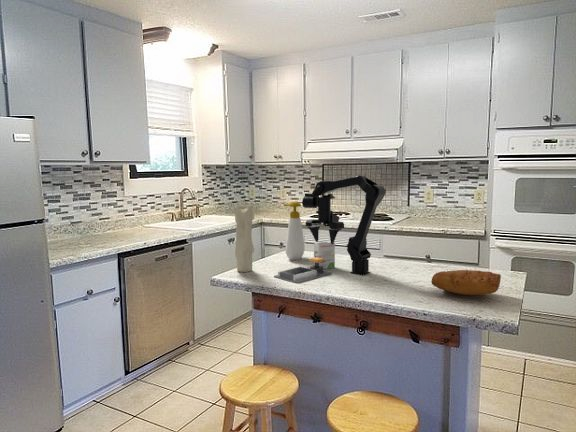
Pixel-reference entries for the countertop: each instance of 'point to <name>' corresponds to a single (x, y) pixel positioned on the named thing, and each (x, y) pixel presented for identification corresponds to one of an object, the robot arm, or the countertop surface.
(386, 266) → the countertop surface
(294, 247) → the soap bottle
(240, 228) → the vase
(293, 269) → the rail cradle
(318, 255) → the ink box
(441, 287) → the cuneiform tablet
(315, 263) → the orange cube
